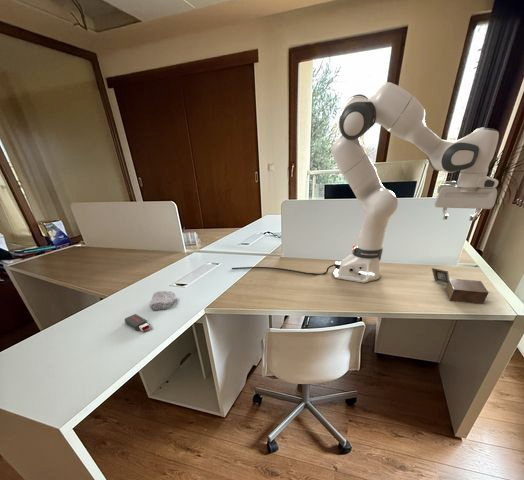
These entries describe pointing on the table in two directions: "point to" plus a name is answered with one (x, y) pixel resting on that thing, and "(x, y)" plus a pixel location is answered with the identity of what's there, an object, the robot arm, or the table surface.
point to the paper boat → (440, 276)
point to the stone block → (162, 300)
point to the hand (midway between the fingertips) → (457, 219)
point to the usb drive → (137, 323)
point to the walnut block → (466, 291)
